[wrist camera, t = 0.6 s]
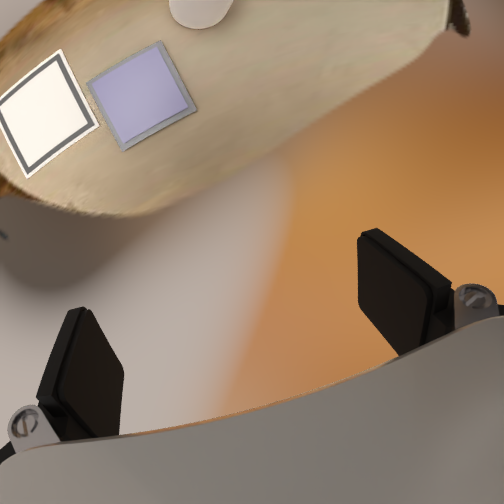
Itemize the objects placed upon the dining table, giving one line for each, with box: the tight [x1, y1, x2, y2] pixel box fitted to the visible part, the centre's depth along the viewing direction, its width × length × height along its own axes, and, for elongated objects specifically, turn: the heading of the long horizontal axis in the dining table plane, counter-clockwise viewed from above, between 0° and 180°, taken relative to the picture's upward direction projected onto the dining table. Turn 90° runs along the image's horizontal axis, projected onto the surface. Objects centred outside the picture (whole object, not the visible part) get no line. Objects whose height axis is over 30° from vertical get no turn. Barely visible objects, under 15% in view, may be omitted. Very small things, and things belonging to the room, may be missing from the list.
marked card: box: [0, 49, 100, 179], centre depth 28 cm, size 11×11×1 cm
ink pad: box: [86, 40, 197, 152], centre depth 29 cm, size 9×9×2 cm
